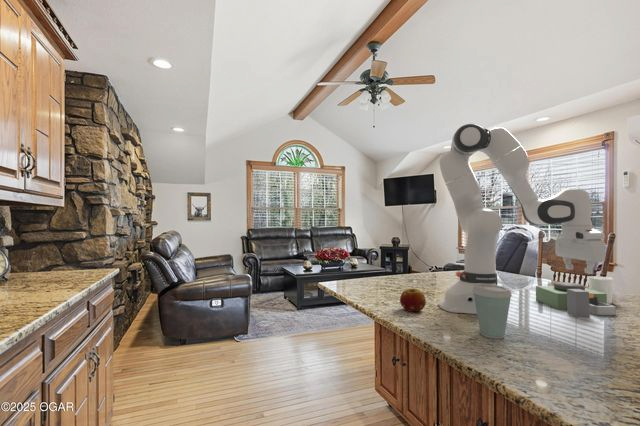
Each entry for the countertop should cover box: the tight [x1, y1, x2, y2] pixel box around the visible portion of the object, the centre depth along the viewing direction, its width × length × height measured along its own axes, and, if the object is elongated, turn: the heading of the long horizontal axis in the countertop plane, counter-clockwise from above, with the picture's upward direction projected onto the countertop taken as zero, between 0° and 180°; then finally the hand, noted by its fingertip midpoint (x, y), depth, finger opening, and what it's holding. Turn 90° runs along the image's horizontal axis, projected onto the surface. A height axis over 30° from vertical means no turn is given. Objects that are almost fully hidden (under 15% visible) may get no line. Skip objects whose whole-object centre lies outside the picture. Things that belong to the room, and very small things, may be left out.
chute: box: [566, 289, 594, 318], centre depth 117 cm, size 6×4×9 cm
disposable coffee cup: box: [473, 283, 512, 340], centre depth 97 cm, size 11×11×15 cm
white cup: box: [587, 275, 614, 305], centre depth 135 cm, size 8×8×10 cm
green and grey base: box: [535, 281, 617, 316], centre depth 128 cm, size 18×21×8 cm
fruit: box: [399, 288, 427, 313], centre depth 125 cm, size 10×9×8 cm
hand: (578, 271), depth 117 cm, fingers open, 8 cm apart
